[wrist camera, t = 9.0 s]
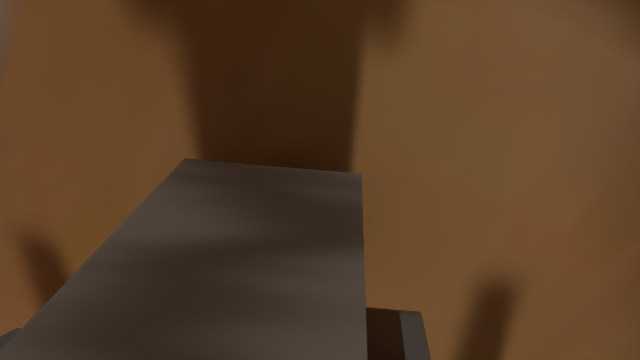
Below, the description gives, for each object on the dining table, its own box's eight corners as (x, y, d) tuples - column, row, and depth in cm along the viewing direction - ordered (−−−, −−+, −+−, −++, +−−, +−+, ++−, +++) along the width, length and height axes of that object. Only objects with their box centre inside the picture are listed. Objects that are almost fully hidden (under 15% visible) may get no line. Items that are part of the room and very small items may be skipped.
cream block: (361, 173, 11) (369, 416, 5) (345, 309, 13) (337, 594, 7) (184, 158, 11) (-21, 373, 5) (198, 294, 14) (65, 559, 7)
